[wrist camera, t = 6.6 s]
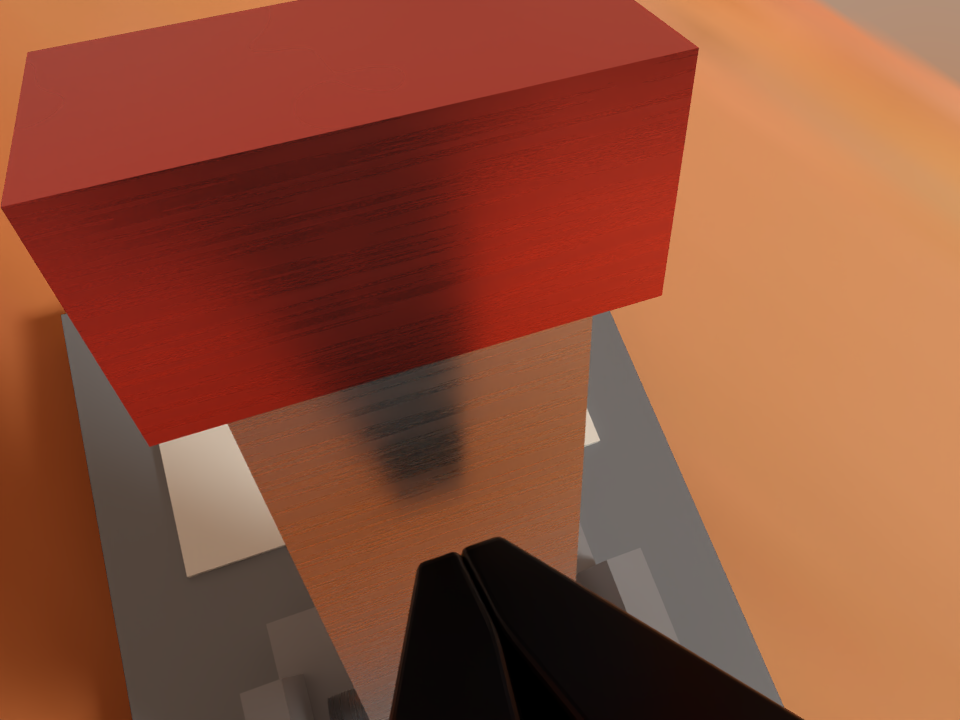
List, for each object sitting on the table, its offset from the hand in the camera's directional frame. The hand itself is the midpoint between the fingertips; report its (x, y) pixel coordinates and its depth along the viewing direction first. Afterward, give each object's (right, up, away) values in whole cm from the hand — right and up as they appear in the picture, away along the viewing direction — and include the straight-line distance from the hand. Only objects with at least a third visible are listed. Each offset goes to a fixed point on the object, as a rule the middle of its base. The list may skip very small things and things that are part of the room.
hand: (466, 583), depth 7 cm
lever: (0, -3, +5) cm, 6 cm away
